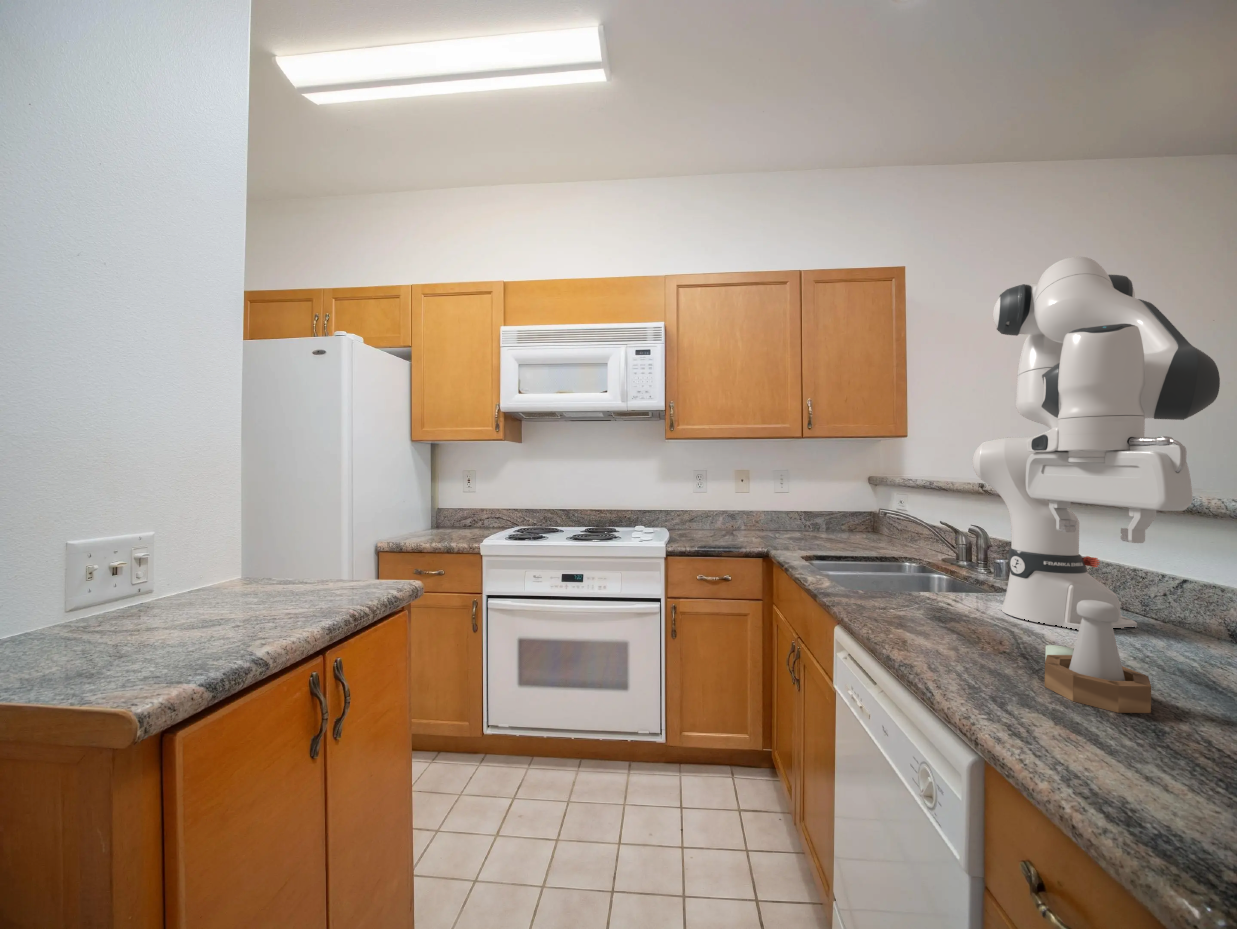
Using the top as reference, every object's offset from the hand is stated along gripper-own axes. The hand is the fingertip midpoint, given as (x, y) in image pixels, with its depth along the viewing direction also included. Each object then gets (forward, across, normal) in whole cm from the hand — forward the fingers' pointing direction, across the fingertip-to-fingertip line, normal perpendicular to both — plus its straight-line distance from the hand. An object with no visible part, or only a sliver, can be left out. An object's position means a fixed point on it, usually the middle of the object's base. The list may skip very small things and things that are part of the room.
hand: (1097, 536), depth 70 cm
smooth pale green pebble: (+23, +9, -4) cm, 24 cm away
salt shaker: (+22, 0, 0) cm, 23 cm away
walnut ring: (+22, 0, 0) cm, 22 cm away
